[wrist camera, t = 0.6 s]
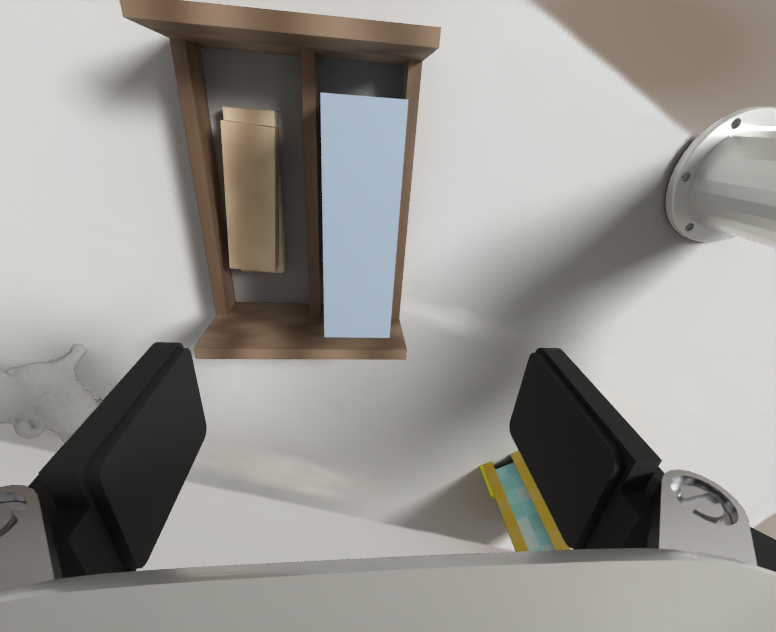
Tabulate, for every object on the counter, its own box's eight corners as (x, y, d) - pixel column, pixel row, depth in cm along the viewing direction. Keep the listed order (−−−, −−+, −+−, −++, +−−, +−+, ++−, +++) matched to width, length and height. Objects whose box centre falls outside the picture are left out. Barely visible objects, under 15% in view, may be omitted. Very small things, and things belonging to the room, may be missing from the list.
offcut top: (278, 127, 30) (274, 128, 29) (278, 264, 36) (275, 272, 34) (227, 120, 30) (220, 119, 28) (235, 260, 35) (229, 268, 34)
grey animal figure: (48, 314, 38) (-52, 377, 28) (145, 396, 43) (88, 472, 34) (11, 337, 39) (-98, 407, 29) (111, 415, 44) (46, 494, 35)
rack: (417, 51, 30) (441, 27, 22) (395, 313, 41) (405, 359, 33) (183, 29, 28) (118, -7, 20) (227, 310, 39) (195, 358, 31)
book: (479, 466, 54) (567, 701, 32) (522, 449, 54) (642, 679, 32) (510, 526, 62) (597, 747, 40) (548, 512, 61) (659, 731, 39)
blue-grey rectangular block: (389, 106, 32) (408, 99, 21) (379, 279, 39) (389, 337, 29) (330, 101, 31) (320, 92, 21) (331, 277, 39) (324, 337, 28)
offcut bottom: (278, 111, 32) (273, 111, 30) (286, 266, 38) (283, 273, 36) (229, 107, 31) (222, 106, 29) (246, 264, 38) (241, 271, 36)
